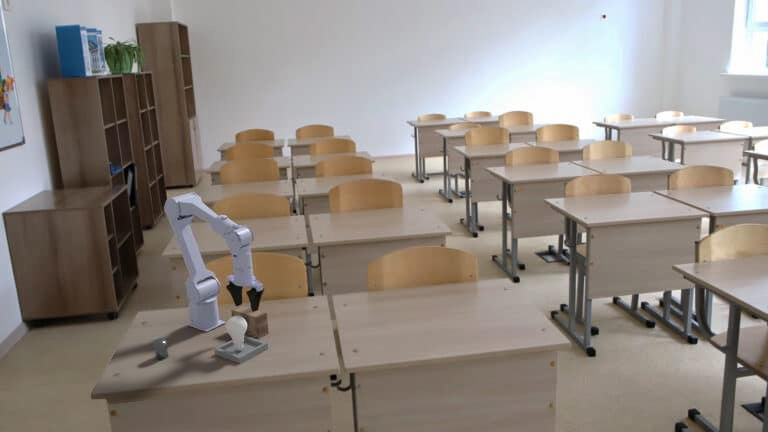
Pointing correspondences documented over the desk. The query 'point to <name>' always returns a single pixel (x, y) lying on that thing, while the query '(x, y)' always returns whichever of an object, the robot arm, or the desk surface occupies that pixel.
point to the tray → (248, 351)
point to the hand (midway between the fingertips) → (247, 307)
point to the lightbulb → (237, 330)
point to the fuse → (161, 349)
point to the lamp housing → (253, 321)
